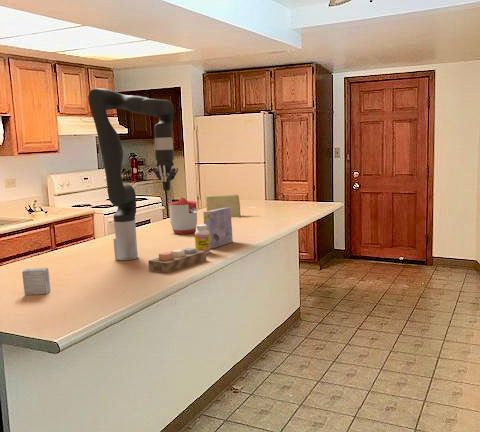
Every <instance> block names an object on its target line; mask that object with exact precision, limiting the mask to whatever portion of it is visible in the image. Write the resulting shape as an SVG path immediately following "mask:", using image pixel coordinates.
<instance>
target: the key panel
mask: <svg viewBox="0 0 480 432" xmlns="http://www.w3.org/2000/svg"><path fill="white" fill-rule="evenodd" d="M147 261H148V271H151V272H158V273H163V274H164V273H165V274H169V273H171V272H175V271H178V270H181V269H184V268H187V267H190V266H193V265H196V264H199V263H202V262H205V261H207V254H206V251H199V250H196V252H195V253H192V254H185V256H182V257H179V258H177V257H173V259H172V260H169V261H161V260H159V257H156V258H152V259H149V260H147Z"/></svg>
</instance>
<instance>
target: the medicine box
mask: <svg viewBox="0 0 480 432" xmlns="http://www.w3.org/2000/svg"><path fill="white" fill-rule="evenodd" d="M49 273H50V272H49V268H48V267H38V268H36V267H35V268H34V267H33V268H26V269H24V270H23V271H22V272H21V274H22V282H23V283H22V284H23V291H24V292H23V293H24V296H30V295H31V296H33V295H34V294H35V295H48V294H49V293H50V291H51V282H50V274H49ZM32 294H33V295H32ZM35 295H34V296H35Z"/></svg>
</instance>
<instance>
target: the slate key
mask: <svg viewBox="0 0 480 432" xmlns="http://www.w3.org/2000/svg"><path fill="white" fill-rule="evenodd" d="M182 250H184V251H185V254H192V253H195V252H196V247H195V248H194V247H187V248H183V249H182Z"/></svg>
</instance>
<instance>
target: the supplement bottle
mask: <svg viewBox="0 0 480 432" xmlns="http://www.w3.org/2000/svg"><path fill="white" fill-rule="evenodd" d="M194 240H195V241H194V242H195V249H196V250H199V251H206V253H207V254H210V252H211V248H210V234H209V231H208V230H207V225H205V224H204V223H203V224H197V225H196V230H195V232H194Z"/></svg>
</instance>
